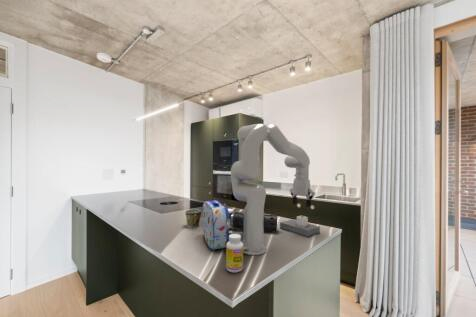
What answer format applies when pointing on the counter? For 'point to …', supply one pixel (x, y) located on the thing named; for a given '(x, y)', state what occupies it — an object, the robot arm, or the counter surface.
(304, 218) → the charger
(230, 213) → the spread jar
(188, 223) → the olive green tapered container
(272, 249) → the counter surface
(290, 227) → the outlet box
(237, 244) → the supplement bottle
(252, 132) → the robot arm
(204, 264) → the counter surface
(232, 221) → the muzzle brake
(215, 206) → the lunch box
